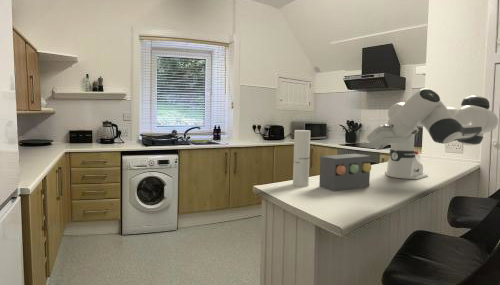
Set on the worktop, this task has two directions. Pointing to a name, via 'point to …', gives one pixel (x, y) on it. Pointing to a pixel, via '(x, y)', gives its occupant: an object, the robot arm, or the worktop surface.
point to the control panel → (348, 179)
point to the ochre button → (366, 167)
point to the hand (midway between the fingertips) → (377, 148)
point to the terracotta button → (340, 170)
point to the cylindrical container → (301, 158)
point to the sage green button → (353, 168)
